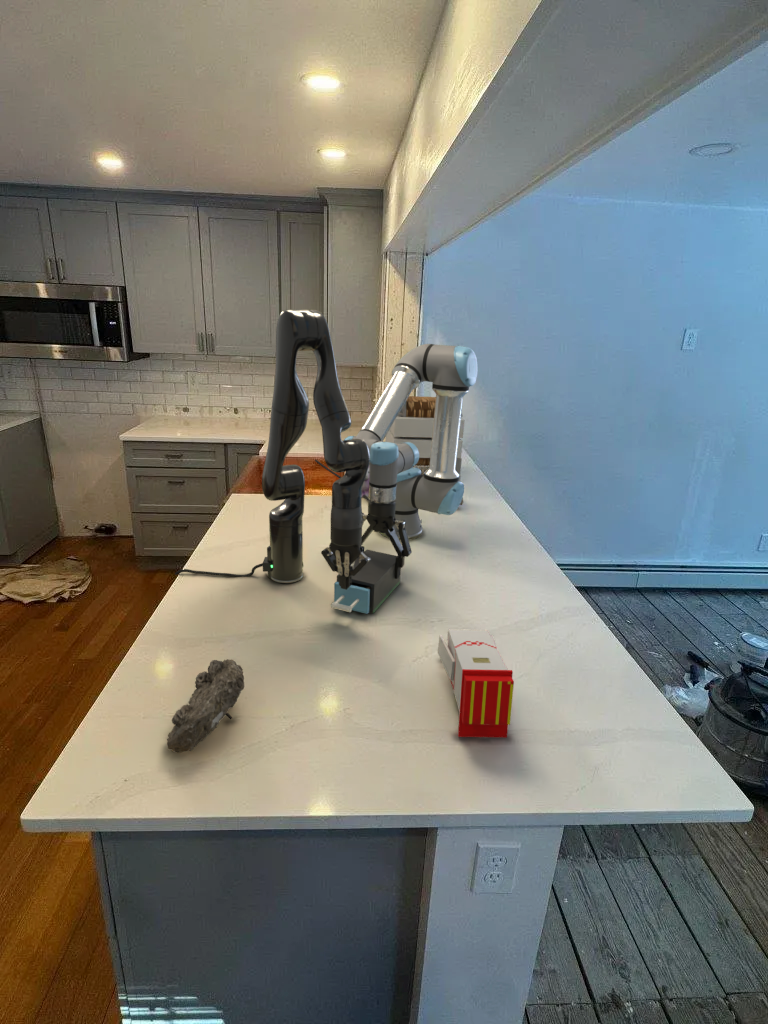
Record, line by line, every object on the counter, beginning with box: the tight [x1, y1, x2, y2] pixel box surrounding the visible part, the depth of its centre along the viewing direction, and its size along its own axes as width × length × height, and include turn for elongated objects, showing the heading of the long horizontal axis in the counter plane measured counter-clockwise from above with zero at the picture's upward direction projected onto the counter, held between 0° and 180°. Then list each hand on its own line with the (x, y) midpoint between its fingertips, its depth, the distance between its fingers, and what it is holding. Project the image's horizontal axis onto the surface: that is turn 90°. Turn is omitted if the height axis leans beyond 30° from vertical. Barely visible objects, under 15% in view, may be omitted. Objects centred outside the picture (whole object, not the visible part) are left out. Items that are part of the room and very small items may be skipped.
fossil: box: [166, 658, 245, 754], centre depth 106 cm, size 22×10×15 cm
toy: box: [437, 628, 515, 738], centre depth 117 cm, size 12×13×30 cm
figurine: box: [362, 465, 370, 498], centre depth 238 cm, size 9×10×15 cm
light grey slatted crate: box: [384, 395, 465, 482], centre depth 268 cm, size 34×33×41 cm
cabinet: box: [336, 549, 401, 614], centre depth 156 cm, size 19×11×8 cm, turn 157°
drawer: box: [330, 581, 371, 615], centre depth 151 cm, size 24×10×6 cm, turn 157°
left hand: (345, 587), depth 141 cm, fingers closed
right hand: (378, 572), depth 162 cm, fingers closed on cabinet, 11 cm apart
